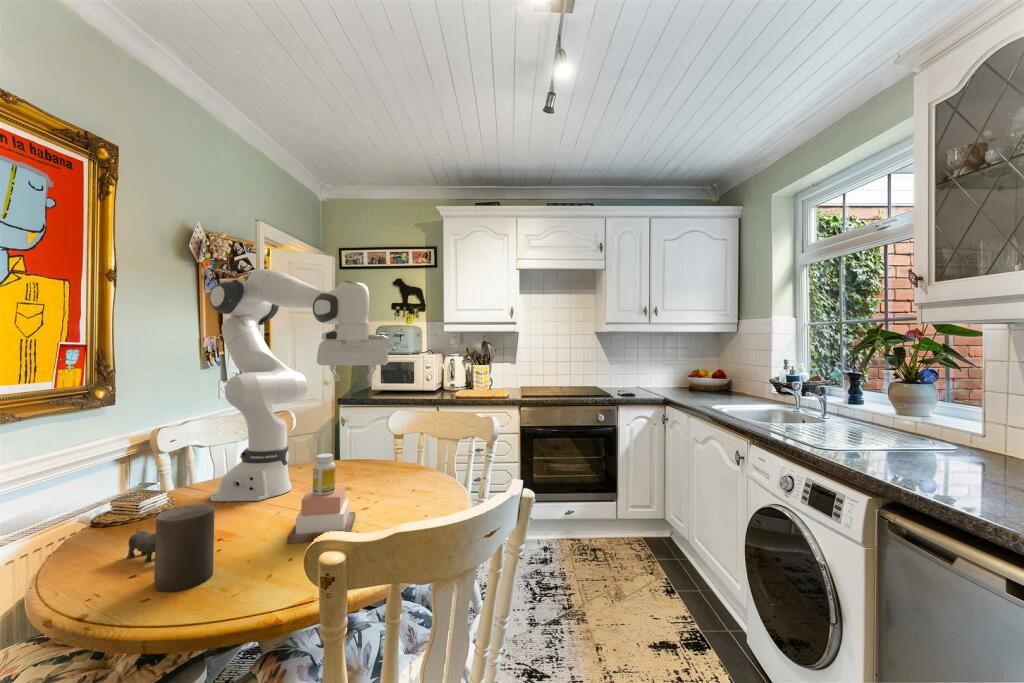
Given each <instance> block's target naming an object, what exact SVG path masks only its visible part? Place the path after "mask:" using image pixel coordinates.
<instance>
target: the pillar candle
mask: <svg viewBox="0 0 1024 683" xmlns="http://www.w3.org/2000/svg"><path fill="white" fill-rule="evenodd" d="M155 518H156V519H155V533H156V544H155V552H154V553H155V555H154V573H153V574H154V576H153V577H154V578H153V580H154V581H153V584H154V589H155V590H156V591H159V592H164V593H165V592H166V593H168V592H169V593H172V592H179V591H183V590H187V589H191V588H194V587H196V586H197V587H198V586H199V585H201V584H203V583H205V582H206V581H208V580H209V579H211V577H212V576H213V575H214V560H215V559H214V556H215V553H214V551H215V506H214V505H213V504H207V503H197V504H190V505H189V504H188V505H186V504H185V505H183V506H178V507H174V508H170V509H167V510H164V511H161V512H159V514H157V515H156V517H155Z"/></svg>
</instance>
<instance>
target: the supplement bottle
mask: <svg viewBox="0 0 1024 683" xmlns="http://www.w3.org/2000/svg"><path fill="white" fill-rule="evenodd" d="M333 460H334V454H333V453H321V454H320V453H319V454H317V455H316V457H315V461H316V463H315V464H313V466H312V488H313V494H314V495H328V494H331V493H333V492H334V491H335V487H336V463H335V462H333Z"/></svg>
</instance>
